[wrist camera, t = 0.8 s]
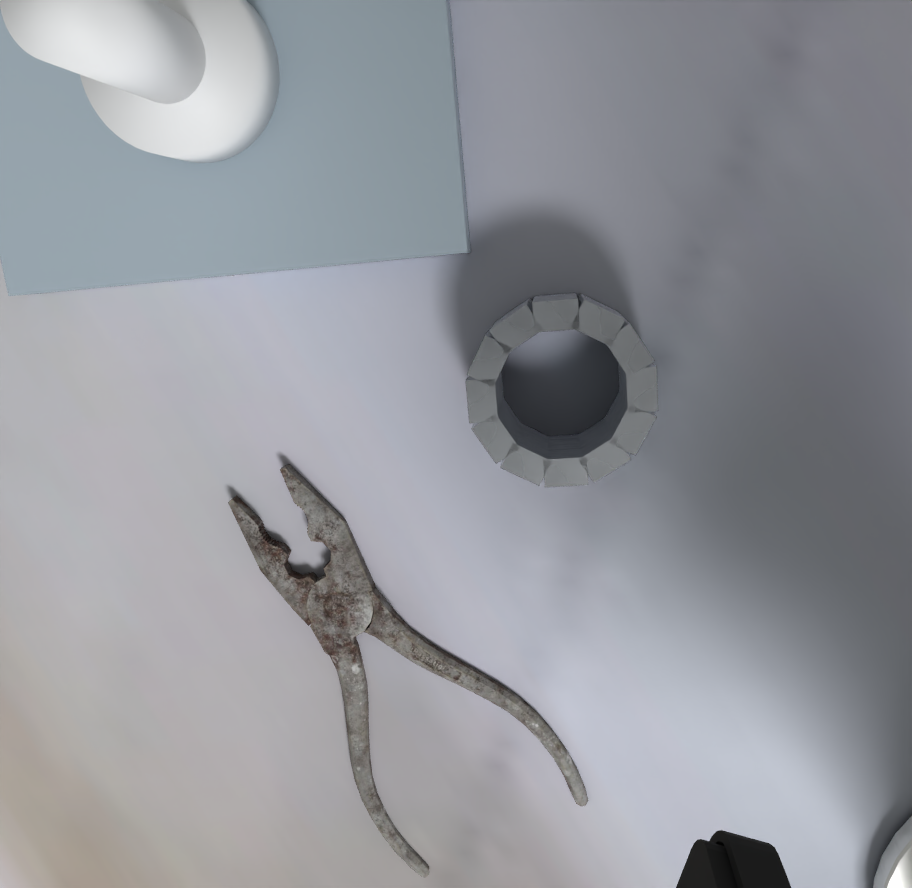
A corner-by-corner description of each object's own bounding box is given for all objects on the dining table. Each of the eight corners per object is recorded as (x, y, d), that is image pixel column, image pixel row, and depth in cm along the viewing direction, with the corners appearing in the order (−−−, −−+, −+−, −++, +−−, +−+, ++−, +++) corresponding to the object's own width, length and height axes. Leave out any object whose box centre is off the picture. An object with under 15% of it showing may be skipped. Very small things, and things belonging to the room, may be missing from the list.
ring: (642, 286, 29) (654, 291, 26) (648, 455, 31) (660, 481, 27) (469, 301, 30) (458, 308, 27) (484, 464, 32) (475, 490, 28)
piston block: (434, -180, 27) (369, -411, 17) (470, 252, 30) (432, 254, 20) (-54, -96, 29) (-344, -260, 20) (28, 294, 32) (-188, 313, 23)
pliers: (446, 907, 36) (128, 599, 34) (448, 893, 37) (138, 591, 35) (609, 792, 34) (277, 454, 32) (608, 779, 35) (284, 449, 33)
